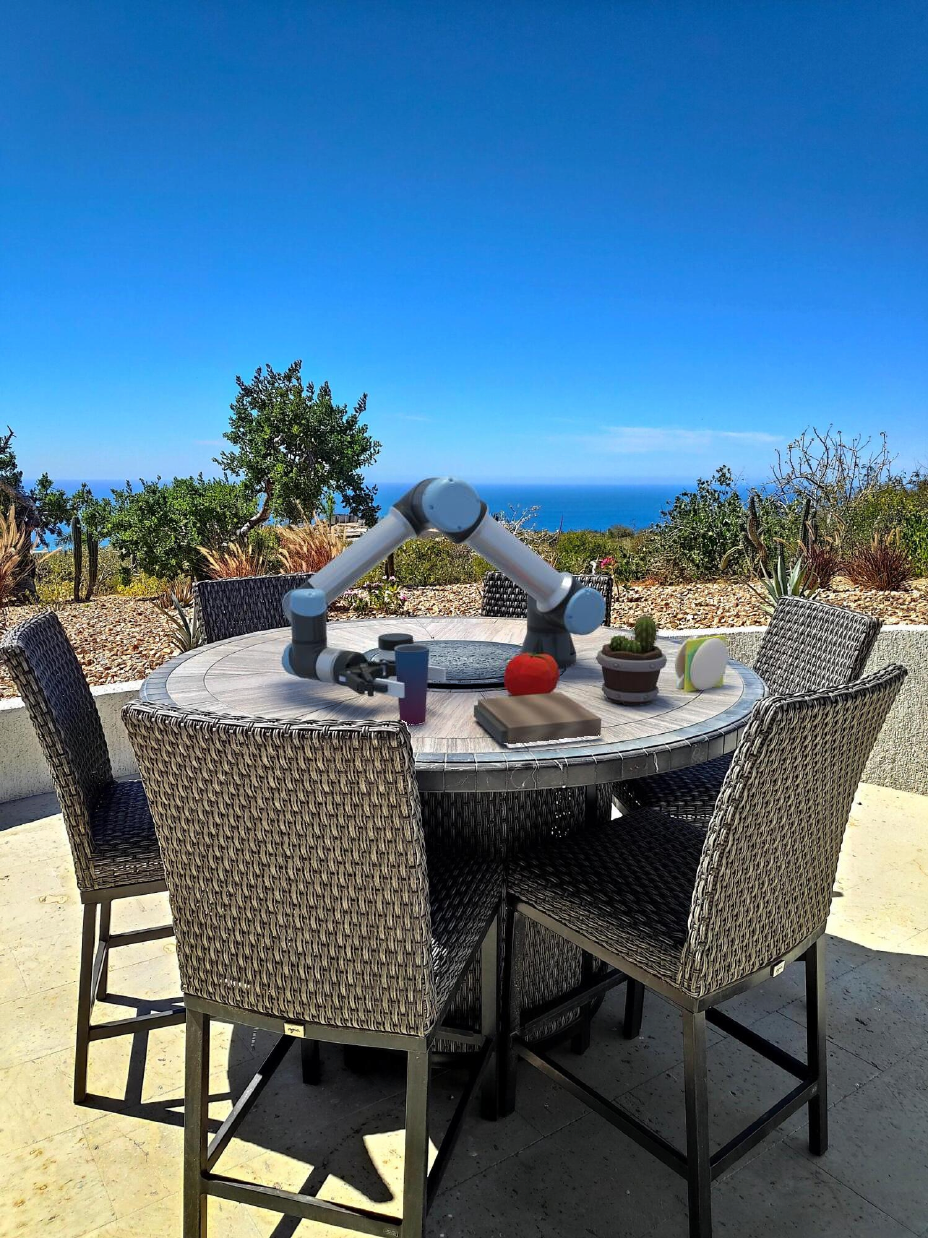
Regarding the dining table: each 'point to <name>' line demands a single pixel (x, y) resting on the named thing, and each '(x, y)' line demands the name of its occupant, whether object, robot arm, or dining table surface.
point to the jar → (392, 646)
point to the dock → (536, 718)
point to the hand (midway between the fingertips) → (425, 682)
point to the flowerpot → (632, 665)
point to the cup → (412, 681)
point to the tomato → (531, 674)
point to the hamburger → (701, 663)
